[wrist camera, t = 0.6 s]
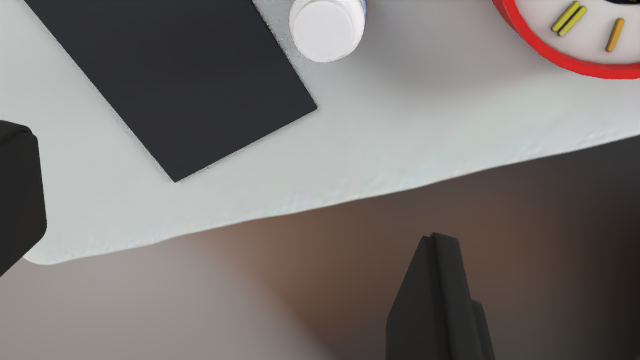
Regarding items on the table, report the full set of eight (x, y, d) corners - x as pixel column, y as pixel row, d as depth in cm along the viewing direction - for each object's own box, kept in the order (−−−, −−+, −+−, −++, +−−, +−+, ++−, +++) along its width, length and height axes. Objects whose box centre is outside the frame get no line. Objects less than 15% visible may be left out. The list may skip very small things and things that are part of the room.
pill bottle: (329, 51, 40) (314, 90, 32) (290, 0, 39) (262, 26, 30) (381, 11, 38) (378, 42, 30) (341, -45, 36) (327, -30, 28)
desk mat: (21, -8, 41) (18, -7, 41) (167, -135, 35) (165, -135, 35) (176, 181, 50) (174, 183, 49) (317, 107, 43) (317, 109, 43)
